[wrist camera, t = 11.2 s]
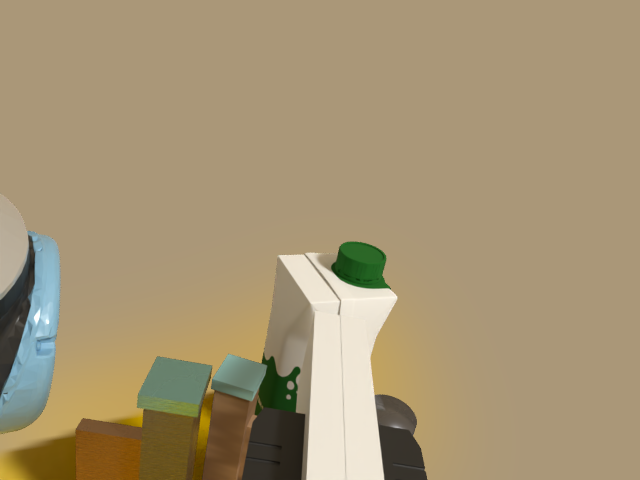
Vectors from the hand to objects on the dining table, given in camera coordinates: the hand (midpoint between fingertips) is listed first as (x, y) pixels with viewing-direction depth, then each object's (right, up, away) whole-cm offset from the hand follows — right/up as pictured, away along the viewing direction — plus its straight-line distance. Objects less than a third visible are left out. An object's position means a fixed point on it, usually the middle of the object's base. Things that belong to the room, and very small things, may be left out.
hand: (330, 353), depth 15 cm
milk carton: (-3, -16, +34) cm, 37 cm away
